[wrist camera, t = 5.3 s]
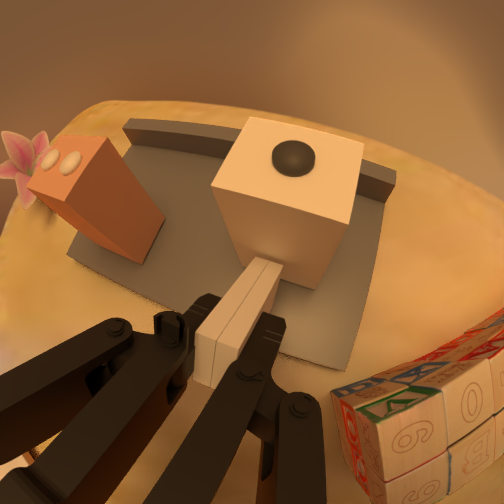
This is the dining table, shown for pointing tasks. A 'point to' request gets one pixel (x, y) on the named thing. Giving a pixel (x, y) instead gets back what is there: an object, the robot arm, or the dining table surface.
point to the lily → (23, 161)
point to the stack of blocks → (427, 419)
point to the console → (221, 246)
